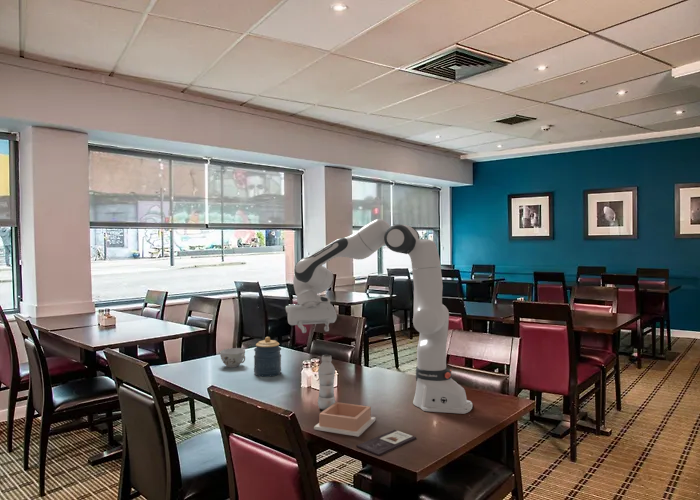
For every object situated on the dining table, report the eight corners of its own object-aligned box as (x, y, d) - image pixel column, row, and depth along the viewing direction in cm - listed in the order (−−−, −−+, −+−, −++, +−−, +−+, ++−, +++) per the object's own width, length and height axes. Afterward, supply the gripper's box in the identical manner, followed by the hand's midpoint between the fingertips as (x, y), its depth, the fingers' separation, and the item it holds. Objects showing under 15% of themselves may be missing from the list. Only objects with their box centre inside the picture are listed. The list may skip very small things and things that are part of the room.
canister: (286, 373, 234) (286, 337, 234) (263, 378, 226) (263, 340, 225) (271, 368, 244) (271, 333, 244) (248, 373, 235) (248, 336, 235)
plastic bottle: (325, 405, 189) (325, 353, 188) (338, 408, 184) (338, 355, 184) (314, 409, 184) (313, 356, 183) (327, 413, 179) (327, 358, 179)
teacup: (214, 366, 247) (214, 351, 247) (233, 362, 258) (233, 346, 258) (235, 371, 239) (235, 354, 239) (253, 366, 249) (253, 350, 249)
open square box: (375, 420, 172) (375, 406, 172) (358, 436, 157) (358, 421, 157) (334, 414, 178) (334, 400, 178) (314, 429, 164) (314, 414, 164)
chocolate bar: (356, 445, 149) (394, 429, 162) (356, 448, 149) (394, 432, 162) (378, 454, 143) (416, 437, 156) (378, 457, 143) (416, 440, 156)
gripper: (285, 300, 198) (292, 328, 189) (333, 298, 206) (341, 325, 197) (283, 309, 202) (289, 337, 193) (329, 307, 210) (337, 334, 201)
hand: (316, 331), depth 195 cm, fingers open, 8 cm apart
